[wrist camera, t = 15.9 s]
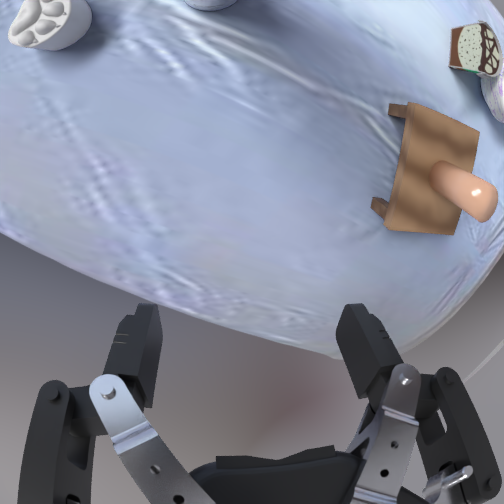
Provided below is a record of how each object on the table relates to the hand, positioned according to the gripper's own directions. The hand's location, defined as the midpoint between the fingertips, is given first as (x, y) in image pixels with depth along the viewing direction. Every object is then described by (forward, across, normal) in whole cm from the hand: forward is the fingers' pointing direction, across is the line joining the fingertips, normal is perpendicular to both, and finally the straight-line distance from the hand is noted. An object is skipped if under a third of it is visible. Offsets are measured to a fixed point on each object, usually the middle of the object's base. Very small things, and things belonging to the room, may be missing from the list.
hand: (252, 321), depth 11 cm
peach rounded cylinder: (+25, -32, -3) cm, 41 cm away
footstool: (+33, -32, -3) cm, 46 cm away
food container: (+33, -41, -29) cm, 60 cm away
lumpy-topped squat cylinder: (+33, +30, -26) cm, 52 cm away
